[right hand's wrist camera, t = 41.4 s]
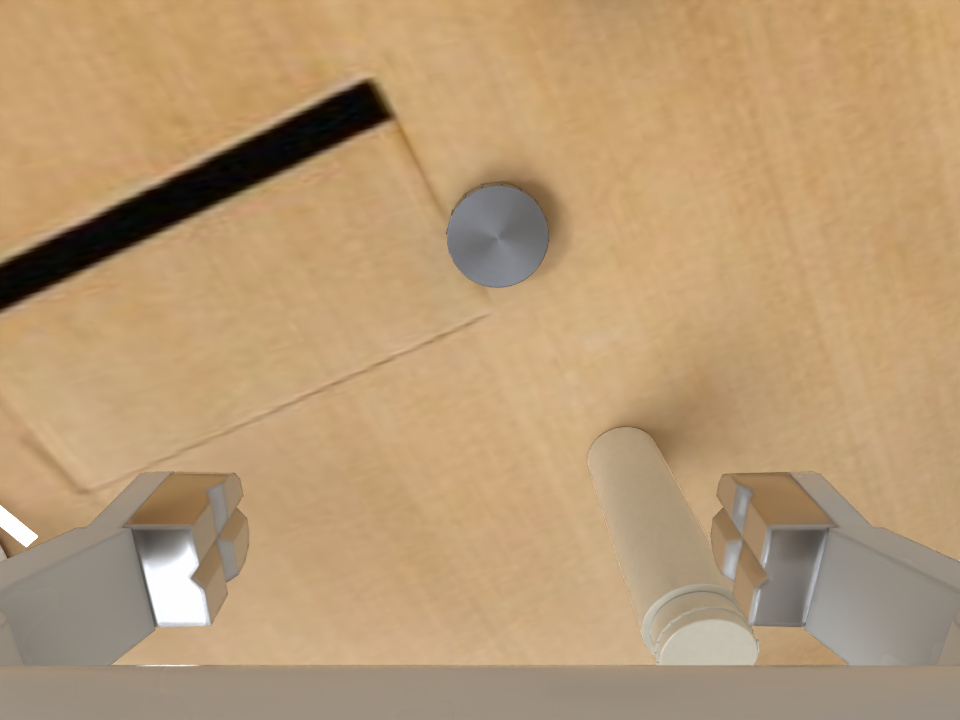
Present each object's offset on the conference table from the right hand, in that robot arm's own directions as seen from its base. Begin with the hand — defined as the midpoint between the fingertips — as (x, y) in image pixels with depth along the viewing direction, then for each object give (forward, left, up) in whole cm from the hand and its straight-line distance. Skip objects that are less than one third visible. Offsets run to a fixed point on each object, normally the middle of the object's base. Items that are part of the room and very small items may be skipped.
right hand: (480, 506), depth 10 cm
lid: (+1, +1, -27) cm, 27 cm away
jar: (+17, -6, -28) cm, 34 cm away
